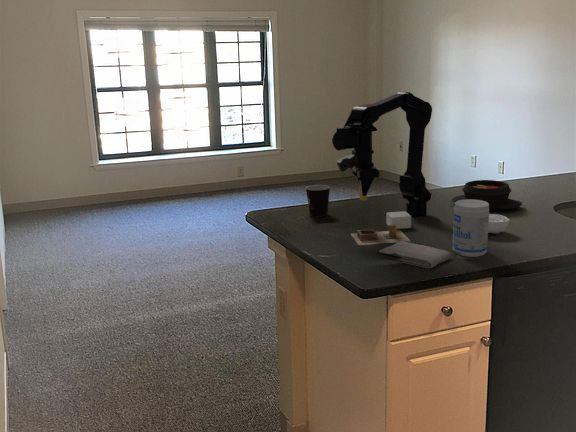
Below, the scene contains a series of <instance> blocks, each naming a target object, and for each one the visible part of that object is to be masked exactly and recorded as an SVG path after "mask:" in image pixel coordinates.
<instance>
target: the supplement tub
mask: <svg viewBox="0 0 576 432" xmlns="http://www.w3.org/2000/svg"><path fill="white" fill-rule="evenodd" d="M489 214H490V210H489V203H487V202H485V201H482V200H474V199H465V200H459V201H456V202H454V207H453V220H452V221H453V225H452V227H453V228H452V229H453V230H452V247H451V248H452V250H453V251H454V252H456V253H455V254H456V255H458V256H461V257H467V258H468V257H469V258H477V257H482V256H484V255H485V254H487V252H488V236H489V233H488V223H489Z"/></svg>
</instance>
